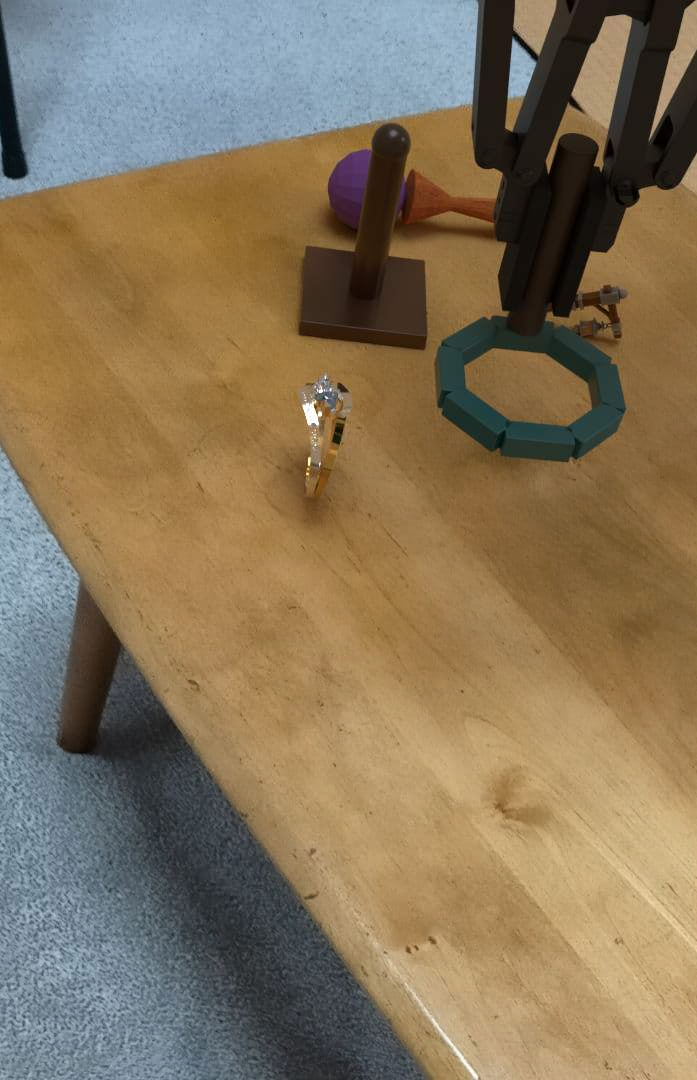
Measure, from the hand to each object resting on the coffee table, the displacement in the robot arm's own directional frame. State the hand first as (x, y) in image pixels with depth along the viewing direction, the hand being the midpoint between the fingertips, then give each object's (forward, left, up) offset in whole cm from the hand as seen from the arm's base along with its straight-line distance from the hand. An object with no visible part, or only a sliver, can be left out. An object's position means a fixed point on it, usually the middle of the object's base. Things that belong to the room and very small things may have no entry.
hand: (532, 296), depth 60 cm
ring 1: (+9, -6, -20) cm, 23 cm away
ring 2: (0, +4, -3) cm, 5 cm away
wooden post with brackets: (-9, -24, -20) cm, 33 cm away
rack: (+6, -24, -20) cm, 32 cm away
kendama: (-1, -35, -20) cm, 41 cm away
